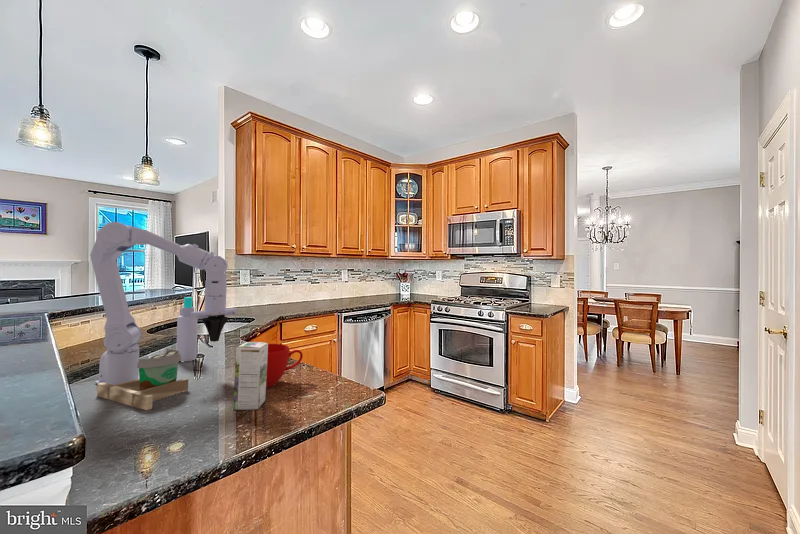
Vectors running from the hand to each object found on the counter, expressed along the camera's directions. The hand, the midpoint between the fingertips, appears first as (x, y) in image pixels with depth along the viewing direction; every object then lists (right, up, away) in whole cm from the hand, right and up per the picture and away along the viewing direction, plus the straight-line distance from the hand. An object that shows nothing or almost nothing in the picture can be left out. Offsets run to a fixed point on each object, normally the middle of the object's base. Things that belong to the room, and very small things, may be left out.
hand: (214, 341), depth 107 cm
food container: (-5, -10, -15) cm, 19 cm away
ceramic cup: (+19, -11, -6) cm, 23 cm away
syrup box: (+21, -11, -23) cm, 33 cm away
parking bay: (-7, -10, -17) cm, 21 cm away
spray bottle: (-19, -11, +17) cm, 27 cm away
